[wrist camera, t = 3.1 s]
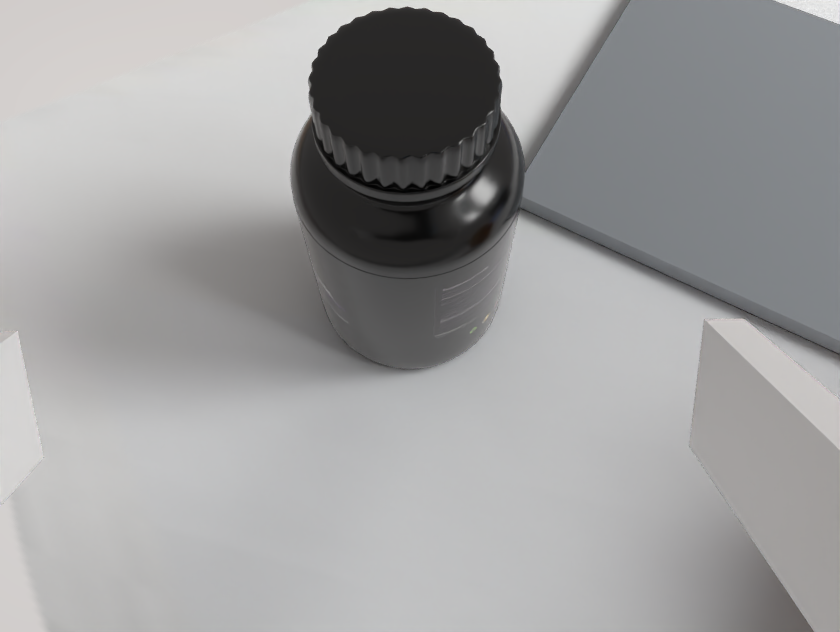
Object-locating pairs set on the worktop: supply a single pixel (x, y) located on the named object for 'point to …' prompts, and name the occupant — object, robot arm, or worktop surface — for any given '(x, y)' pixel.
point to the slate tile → (710, 155)
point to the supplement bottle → (408, 185)
